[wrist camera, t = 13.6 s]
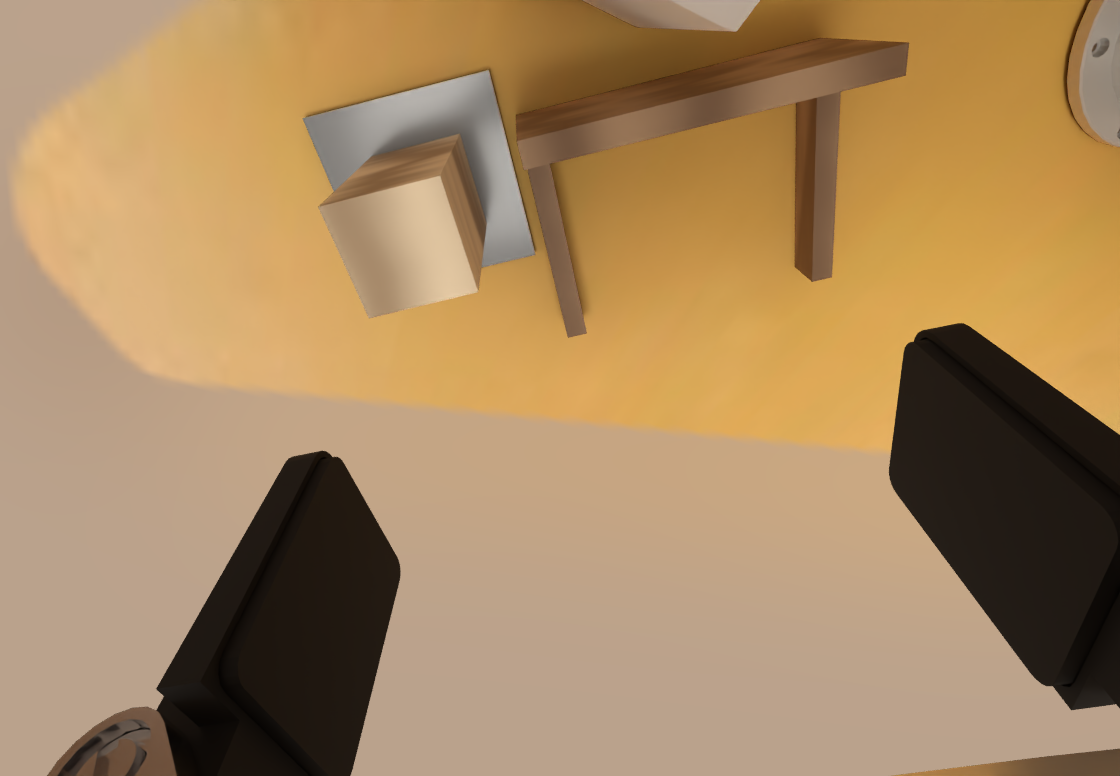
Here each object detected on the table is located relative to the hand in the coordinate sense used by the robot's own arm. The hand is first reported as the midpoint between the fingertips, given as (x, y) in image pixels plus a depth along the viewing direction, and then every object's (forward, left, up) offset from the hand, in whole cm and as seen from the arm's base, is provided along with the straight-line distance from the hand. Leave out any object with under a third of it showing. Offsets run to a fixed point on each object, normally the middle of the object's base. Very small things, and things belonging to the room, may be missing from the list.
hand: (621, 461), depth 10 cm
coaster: (+7, 0, -27) cm, 27 cm away
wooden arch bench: (-7, +4, -27) cm, 28 cm away
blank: (+7, 0, -26) cm, 27 cm away
